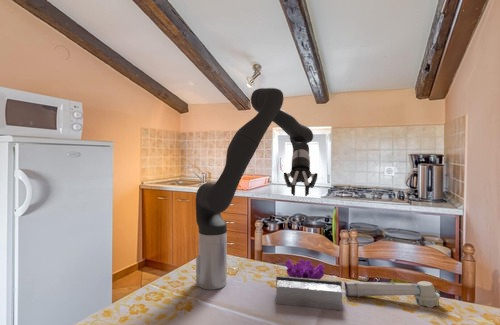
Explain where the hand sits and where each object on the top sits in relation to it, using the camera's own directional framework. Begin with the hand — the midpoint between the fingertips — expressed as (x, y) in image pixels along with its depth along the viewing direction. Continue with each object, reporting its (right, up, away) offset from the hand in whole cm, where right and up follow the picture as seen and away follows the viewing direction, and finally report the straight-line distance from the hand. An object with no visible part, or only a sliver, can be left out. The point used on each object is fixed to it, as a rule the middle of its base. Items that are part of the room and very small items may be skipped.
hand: (300, 194), depth 107 cm
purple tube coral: (-1, -28, -12) cm, 31 cm away
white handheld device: (+23, -29, -24) cm, 44 cm away
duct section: (-2, -28, -26) cm, 38 cm away
